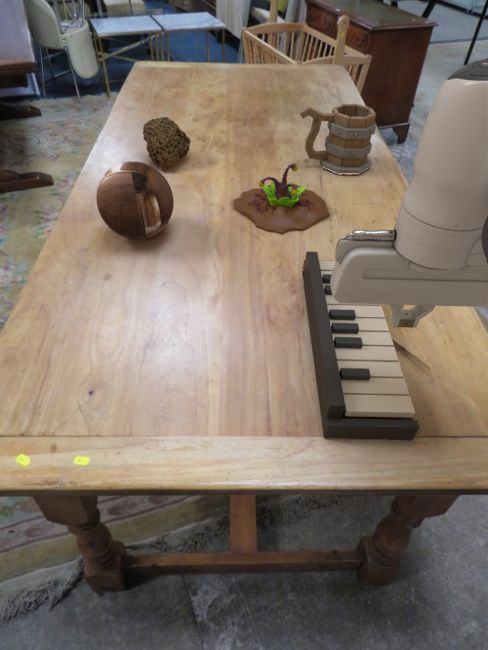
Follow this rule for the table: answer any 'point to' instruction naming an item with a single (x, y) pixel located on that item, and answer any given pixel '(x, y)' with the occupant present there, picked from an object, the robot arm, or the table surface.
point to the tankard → (342, 137)
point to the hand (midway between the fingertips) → (402, 324)
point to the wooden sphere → (134, 200)
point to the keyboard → (351, 360)
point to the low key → (327, 265)
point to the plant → (282, 206)
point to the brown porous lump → (165, 142)
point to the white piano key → (378, 406)
